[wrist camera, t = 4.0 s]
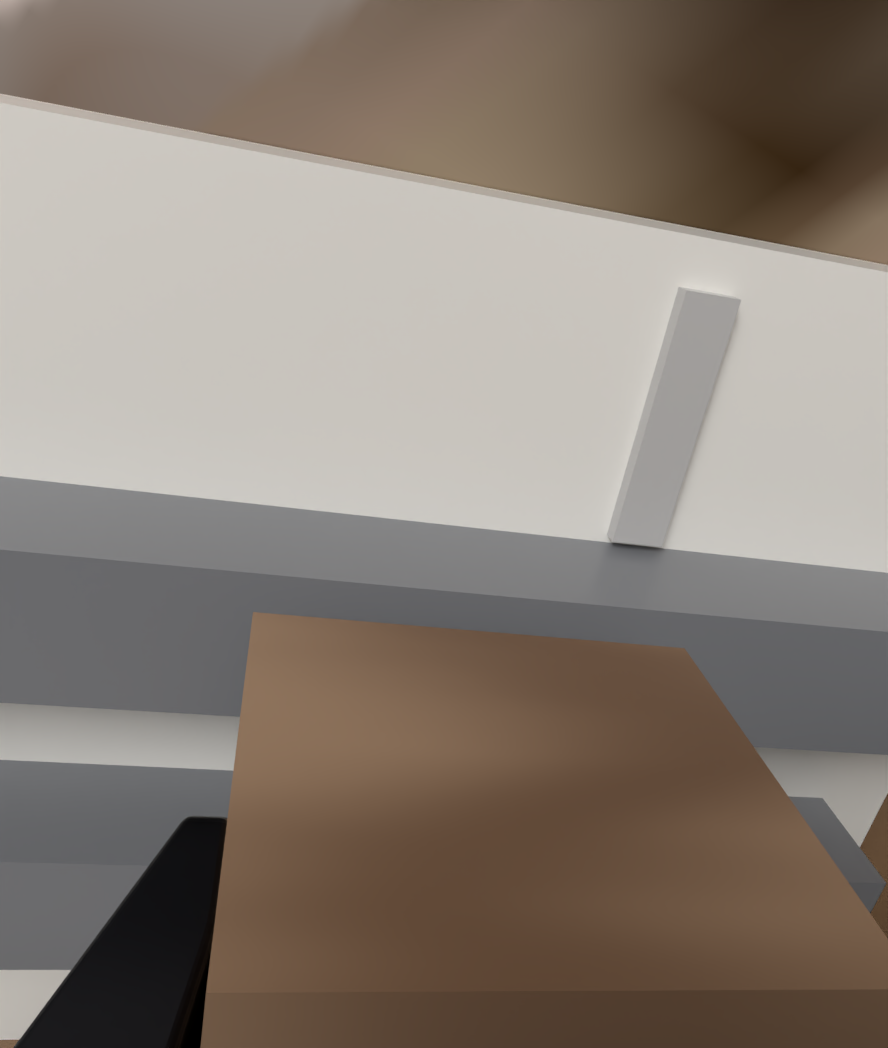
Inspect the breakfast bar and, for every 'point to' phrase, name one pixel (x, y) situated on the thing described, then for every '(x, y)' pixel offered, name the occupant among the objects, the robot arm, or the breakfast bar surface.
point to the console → (399, 473)
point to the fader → (518, 856)
